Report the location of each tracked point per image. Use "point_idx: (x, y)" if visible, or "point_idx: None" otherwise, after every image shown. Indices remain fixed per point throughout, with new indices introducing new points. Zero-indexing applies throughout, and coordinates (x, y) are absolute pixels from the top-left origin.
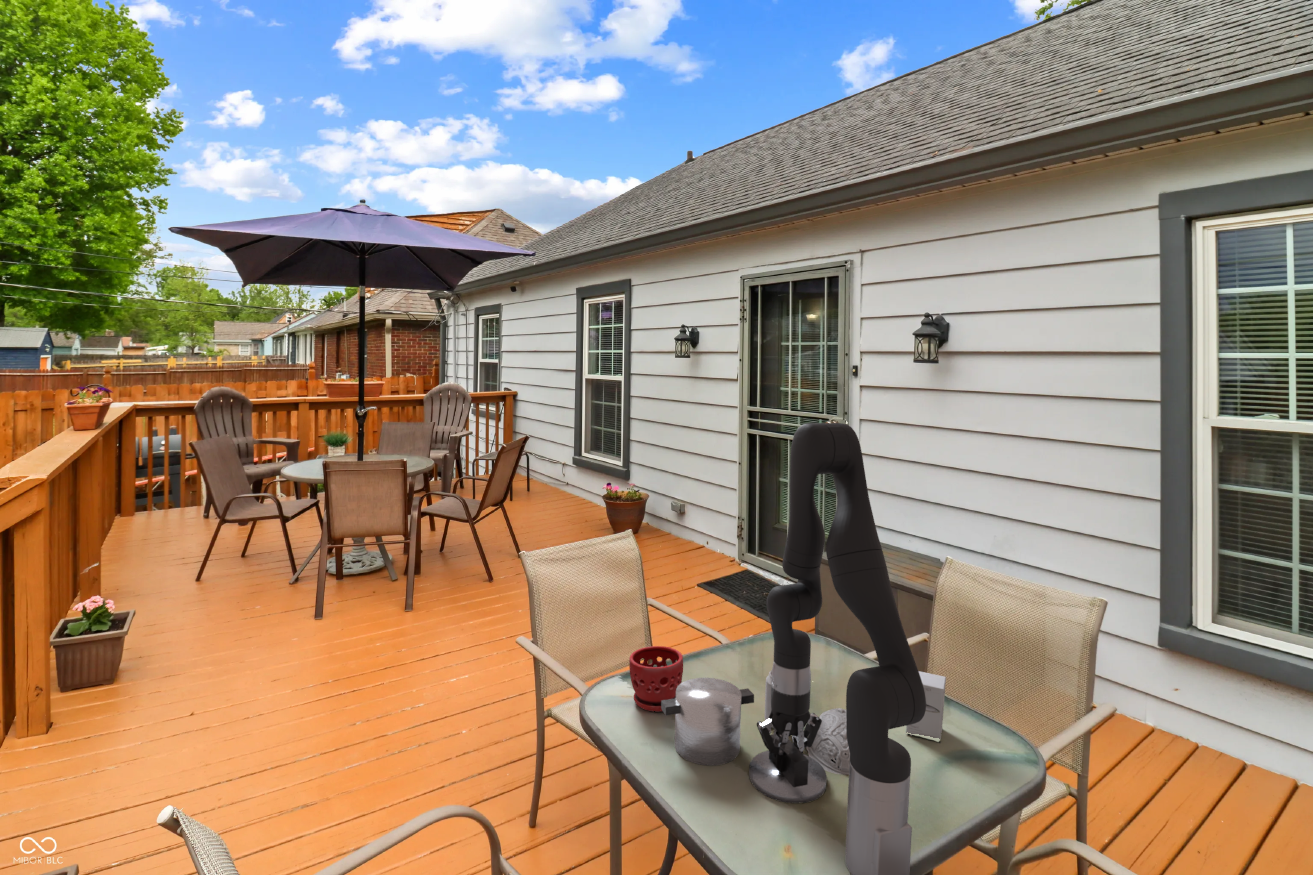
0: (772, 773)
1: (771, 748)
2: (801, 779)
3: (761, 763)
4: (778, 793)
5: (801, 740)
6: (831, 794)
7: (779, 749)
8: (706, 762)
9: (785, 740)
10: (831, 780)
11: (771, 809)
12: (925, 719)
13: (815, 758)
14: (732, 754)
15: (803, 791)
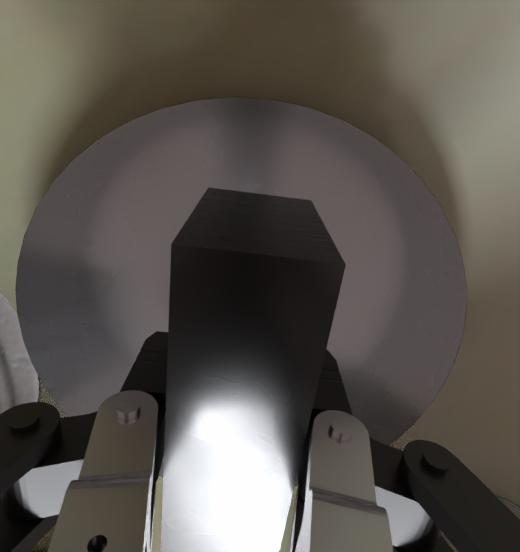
0: (334, 350)
1: (464, 484)
2: (253, 203)
3: None
4: (430, 194)
5: (115, 480)
6: (80, 101)
7: (366, 455)
8: (514, 511)
9: (347, 534)
10: (13, 213)
11: (506, 133)
12: None
13: (13, 383)
14: None
15: (279, 136)
